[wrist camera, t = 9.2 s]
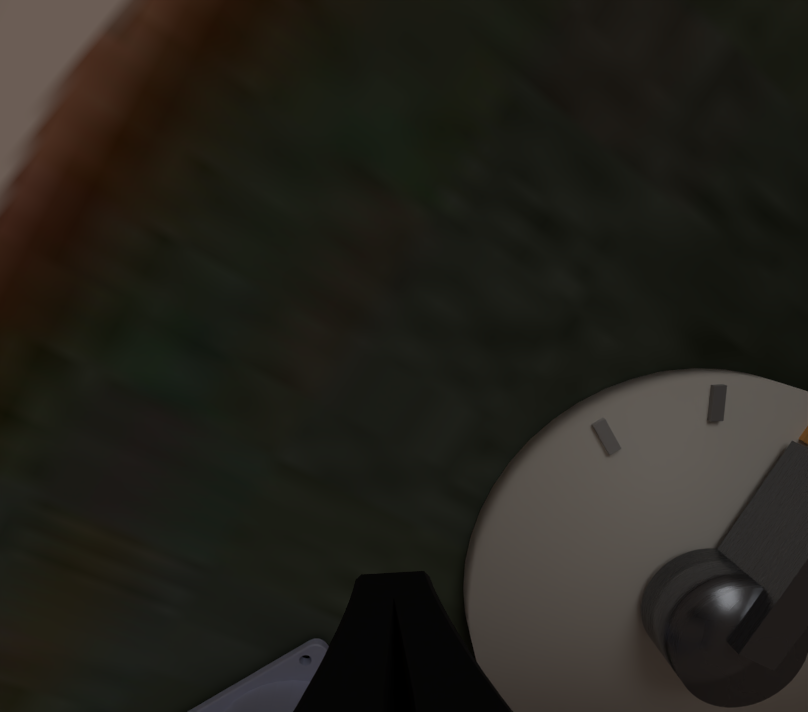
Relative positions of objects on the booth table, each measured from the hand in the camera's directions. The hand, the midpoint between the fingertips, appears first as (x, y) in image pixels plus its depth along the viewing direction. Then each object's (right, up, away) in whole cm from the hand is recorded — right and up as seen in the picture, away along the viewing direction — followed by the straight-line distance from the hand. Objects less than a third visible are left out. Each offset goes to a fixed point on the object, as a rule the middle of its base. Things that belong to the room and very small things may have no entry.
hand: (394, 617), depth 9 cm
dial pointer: (+14, -3, +10) cm, 17 cm away
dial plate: (+12, -5, +12) cm, 18 cm away
